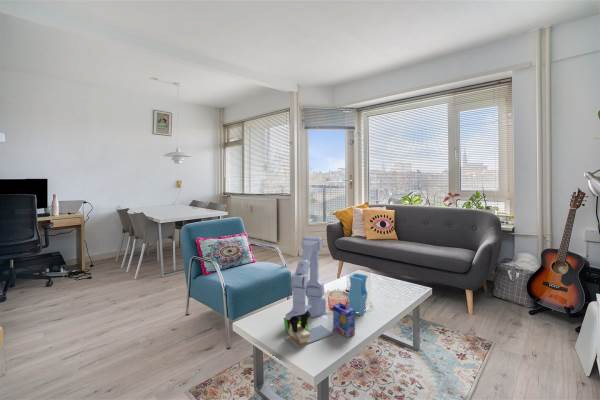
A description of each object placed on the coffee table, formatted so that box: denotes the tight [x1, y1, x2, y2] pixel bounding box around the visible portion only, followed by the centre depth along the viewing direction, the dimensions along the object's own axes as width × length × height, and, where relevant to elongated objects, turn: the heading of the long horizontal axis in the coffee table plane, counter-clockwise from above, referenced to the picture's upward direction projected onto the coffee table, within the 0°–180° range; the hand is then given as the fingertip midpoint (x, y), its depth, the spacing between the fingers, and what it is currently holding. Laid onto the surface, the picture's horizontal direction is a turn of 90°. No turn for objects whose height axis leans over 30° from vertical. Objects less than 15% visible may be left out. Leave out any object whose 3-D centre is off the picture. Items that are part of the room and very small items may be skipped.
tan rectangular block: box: [287, 324, 310, 344], centre depth 133 cm, size 9×4×4 cm, turn 41°
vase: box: [347, 272, 368, 316], centre depth 162 cm, size 8×8×20 cm
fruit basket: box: [283, 315, 308, 332], centre depth 142 cm, size 11×9×11 cm
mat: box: [284, 324, 334, 350], centre depth 137 cm, size 21×10×1 cm, turn 122°
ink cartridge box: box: [332, 302, 356, 338], centre depth 141 cm, size 10×6×14 cm, turn 38°
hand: (299, 329), depth 134 cm, fingers closed on tan rectangular block, 5 cm apart
